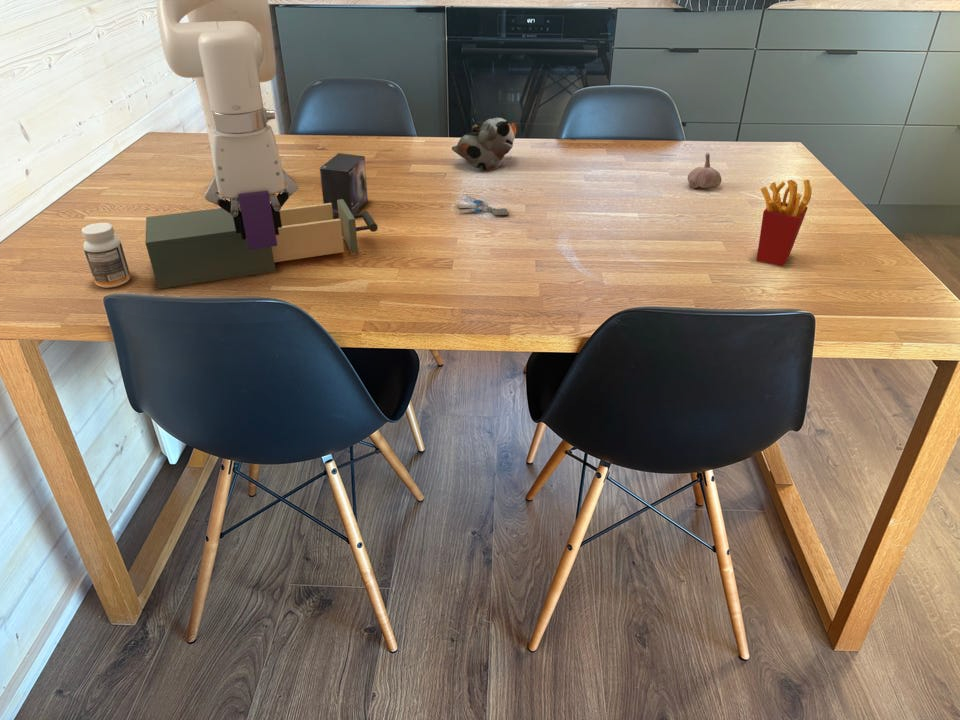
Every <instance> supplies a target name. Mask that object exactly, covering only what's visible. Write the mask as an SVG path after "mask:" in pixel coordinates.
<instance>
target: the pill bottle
mask: <svg viewBox="0 0 960 720" xmlns="http://www.w3.org/2000/svg"><path fill="white" fill-rule="evenodd" d="M81 234H82V237H83V239H84V242H83V244H82V248H83V251H84V255H85V259H86V261H87V264H88V266H89V269H90V272H91V276H92V278H93V281H94V283H95V285H97V286H98V287H101V288H117V287H119V286H122V285H124V284H126V283H128V282H129V281H130V279H131V272H130V269H129V265H128V262H127V258H126V256H125V255H126V254H125V252H124V248H123V245H122V241H121V240H120V238H119V237H118V236H116V235H115V229H114V226H113V224H111V223H109V222H95V223H91V224H88V225H86V226H84V227H82V228H81Z"/></svg>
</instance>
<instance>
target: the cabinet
mask: <svg viewBox="0 0 960 720" xmlns="http://www.w3.org/2000/svg"><path fill="white" fill-rule="evenodd" d="M239 209H240V206H239ZM144 240H145V247H146V250H147V253H148V257H149V261H150V265H151V268H152V272H153V276H154V278H155V282H156V286H157V289H158V290H162V289H168V288H176V287H182V286H183V287H184V286H189V285H194V284H202V283H208V282H214V281H215V282H216V281H223V280H227V279H228V280H229V279H235V278H243V277H249V276H254V275H255V276H256V275H263V274H268V273H273V272H275V273H276V264H275V262H274V258H273V252H272V247H265V248H258V249H251V250H249V248H248V244H247V240H246V239H244V240H242V236H241V233H237V234H236V229H235V224H234V219H233V216H232V215H231V214H230V213H228V212H227V211H225V210H224V209H222V208H221V207H217V208H211V209H202V210H201V209H200V210H194V211H185V212H178V213H169V214H160V215H152V216H146V217H145V239H144Z"/></svg>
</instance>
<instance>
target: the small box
mask: <svg viewBox="0 0 960 720" xmlns="http://www.w3.org/2000/svg"><path fill="white" fill-rule="evenodd" d="M319 175H320V184H321V192H322V202H323V203H322V204H326V203H331V204H332V211H333V218H335V219H339V213H338V204H337V200H340V199H343V200H344V201H345V203H346V205H347V206H348V208H349V210H350V211H351V213H352V215H357V214H359V212H360V211H361V210H362V209H363V208H364V207H365V206H366V204H368V203H369V199H368V198H369V197H368V187H367V186H368V185H367V183H368V182H367V169H366V157H365V155H359V154H349V153H341V152H338V153H337V154H335V155H334V156H333V157H332V158H330V159H329V160H328V161H327V162H325V163H324V164H323V165H322V166H320V167H319Z"/></svg>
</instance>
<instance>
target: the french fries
mask: <svg viewBox="0 0 960 720" xmlns="http://www.w3.org/2000/svg"><path fill="white" fill-rule="evenodd" d="M786 183H787V188H786V189H785V191H784V194H783V197H782V198H781V193H780V191H781V190H782V189H783V188H784V186H786ZM803 186H804V193H803V194H801V193H798V183H797V182H796V181H795V180H793V179H789V180H787V181H781V182H780V183H779V185H777V184H776V182H775V181H774V182H770V185H769V189H770V191H771V192H772V197H771V195H770V192H769V190H768V187H767V186H764V187H761V189H760V191H761V193H762V196H763V199H764V202H765V209H764V210H763V212H762V220H761V226H760V233H759V239H758V240H759V241H758V247H757V253H756V254H757V255H756V262H759V263H760V262H761V263H765V264H769V265H773V266H777V267H781V268H782V267H783V268H784V266H785V265H786V263H787V261H788V260H789V258H790V256H791V254H792V251H793V248H794V245H795V242H796V240H797V238H798V235H799V232H800V230H801V226H802V224H803V222H804V219H805V216H806V214H807V211H808V205H809V203H810V201H811V199H812V186H811V182H810V179H805V180H803ZM788 195H789V196H788ZM802 196H803V197H802ZM801 198H802V199H801ZM787 199H788V200H787ZM787 201H788V202H787Z"/></svg>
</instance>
